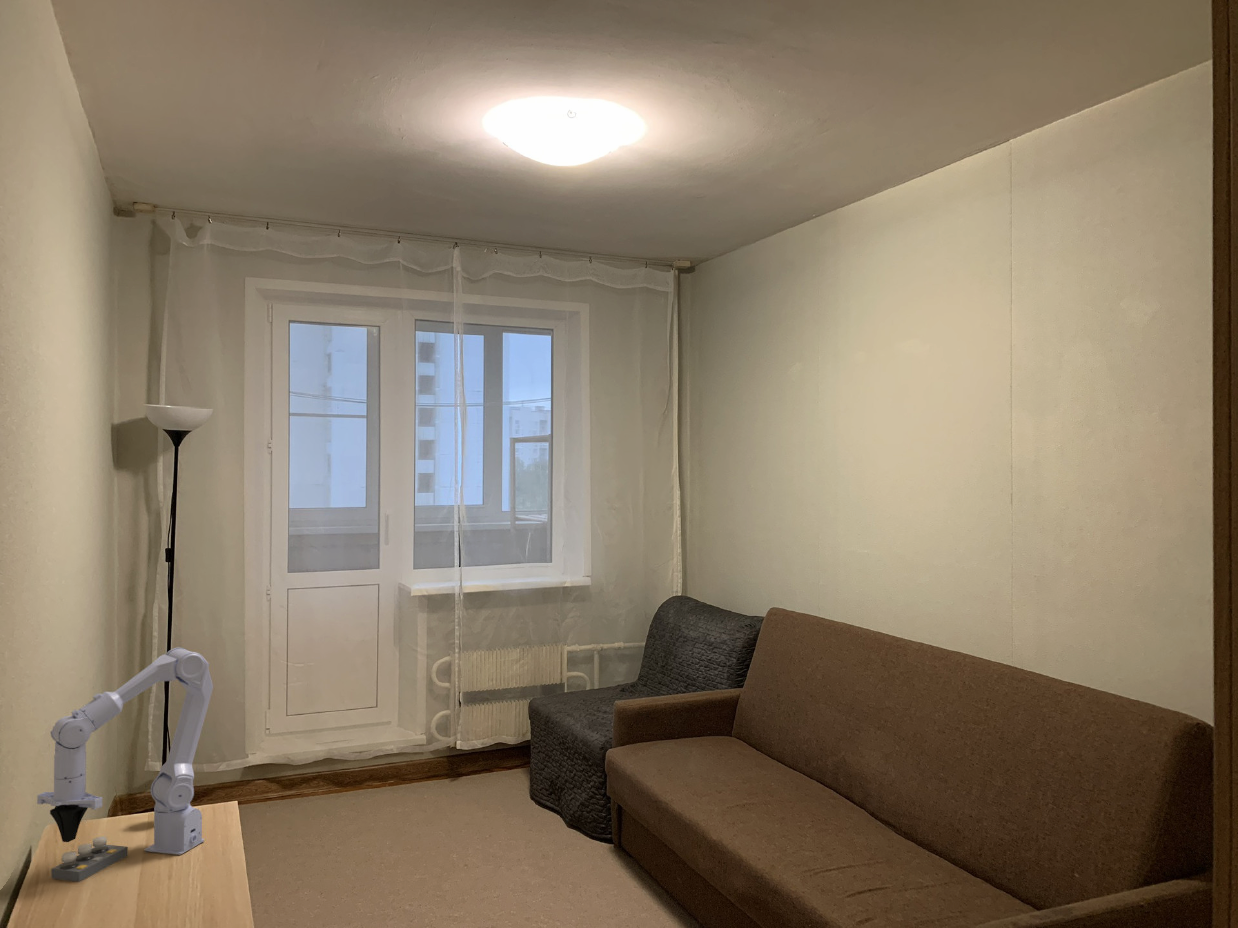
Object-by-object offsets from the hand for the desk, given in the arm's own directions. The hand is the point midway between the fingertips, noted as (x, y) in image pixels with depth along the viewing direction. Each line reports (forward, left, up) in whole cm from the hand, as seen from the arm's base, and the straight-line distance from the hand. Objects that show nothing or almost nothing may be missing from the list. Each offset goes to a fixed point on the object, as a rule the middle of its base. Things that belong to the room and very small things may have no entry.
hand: (69, 840), depth 185 cm
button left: (0, 0, -4) cm, 4 cm away
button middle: (0, -4, -4) cm, 6 cm away
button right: (0, -8, -4) cm, 9 cm away
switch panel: (-1, -5, -7) cm, 9 cm away
